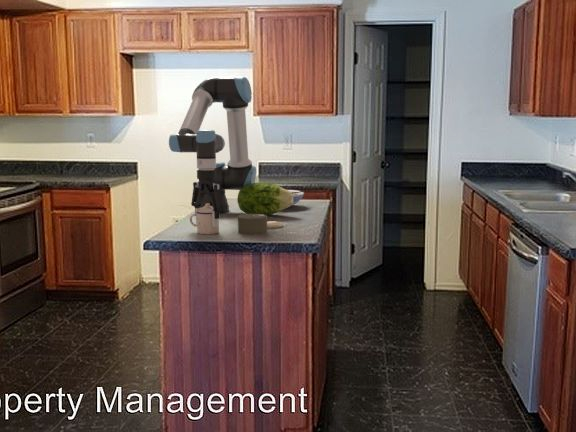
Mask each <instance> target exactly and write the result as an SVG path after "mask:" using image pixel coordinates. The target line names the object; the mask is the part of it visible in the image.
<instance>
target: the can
mask: <svg viewBox="0 0 576 432" xmlns="http://www.w3.org/2000/svg"><path fill="white" fill-rule="evenodd" d="M267 221H268V215H264V214H247V213H241V214H238V215H237V229H238V231H237V234H239V235H242V236H262V234H263V235H266V234H267V233H268V228H267Z"/></svg>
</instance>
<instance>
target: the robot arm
mask: <svg viewBox="0 0 576 432" xmlns="http://www.w3.org/2000/svg"><path fill="white" fill-rule="evenodd" d="M250 83H251V82H250V81H249V79H248V78H247V77H246V76H239V75H231V76H230V75H228V76H225V75H221V76H210V77H208V78H206V79H204V80H203V81H202V82H200V83H199V84H198V85H197V86H196V88H195V89H194V90H193V93H192V95H191V103H190V105H189V108H188V110H187V112H186V115H185V117H184V119H183V121H182V124H181V126H180V129H179V131H178V132H177V133H172V134H170V135H169V138H168V147H169V150H170V151H171V152H175V153H195V154H196V168H197V170H196V178H197V180H198V181H195V182H193V183H192V185H193V186H192V187H193V188H192V196H191V203H190V204H191V207H194V212H195V213H194V214H197V212H196V211H197V210H198V209H200V208H202V207H204V206H205V204H210V206H212V207H213V211H212V227H218V226H219V225H220V223H219V221H220V220H219V219H220V214H221V213H225V212H226V213H227V212H229V211H230V205H229V202H228V198H227V196H226V190H231V191H240V190H241V189H242V188H243V187H244V186H246V185H249V184H253V183H256V179H257V178H256V177H257V168H256V165H253V162H252V160H251V159H249V151H248V150H249V149H248V147H249V146H248V133H247V119H246V117H247V116H246V109H247V108H249V103H251V102H252V94H253V93H252V87H251V84H250ZM213 103H222V108H223V109H224V110H225V112H226V121H227V133H228V147H229V161H228V162H227V165H226V163H225V162H224V161H223V162H222V161H220V162H217V158H216V157H217V154H218V153H220V152H221V151H223V149H224V148H225V145H226V143H225V141H226V140H225V139H224V138H223V136H222V135H220V134H217V133H216V131H215V130H213V129H201V126H202V124H203V122H204V119H205V116H206V114H207V111H208V109H209V108H210V107H211V106H212V105H213ZM195 224H196V225H197V216H195ZM219 227H220V226H219Z"/></svg>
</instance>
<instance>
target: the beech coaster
mask: <svg viewBox="0 0 576 432" xmlns="http://www.w3.org/2000/svg"><path fill="white" fill-rule="evenodd" d="M283 225H284V224H283V222H281V221H277V220H276V221H275V220H273V221H272V220H267V229H279V228H280V229H281V228H282V227H283Z"/></svg>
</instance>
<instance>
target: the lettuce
mask: <svg viewBox="0 0 576 432" xmlns="http://www.w3.org/2000/svg"><path fill="white" fill-rule="evenodd" d="M288 190H289V189H285V188H284V187H282V186H280V185H278V184H275V183H272V182H271V183H269V182H255V183H253V184H249V185H246V186H244V187H243V188H242V189H241V190H238V193H237V205H238V208H239V210H241V212H243V214H264V215H267V216H268V215H269V216H271V215H274V214H277V213H280V212H282V211H283V210H285V209H288V208H290V207H291V206H293V205H292V204H293V194H292V193H291V192H289V191H288Z"/></svg>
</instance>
